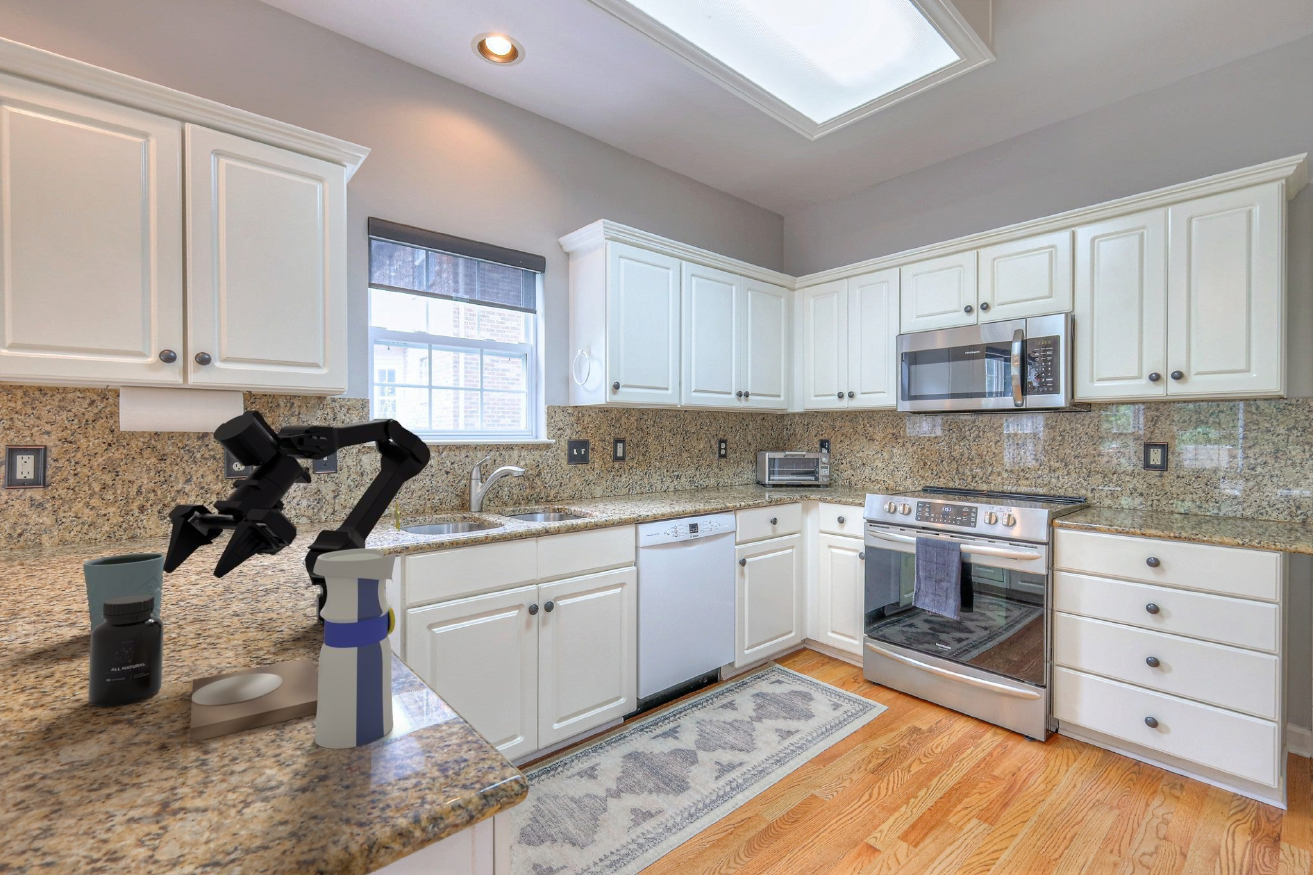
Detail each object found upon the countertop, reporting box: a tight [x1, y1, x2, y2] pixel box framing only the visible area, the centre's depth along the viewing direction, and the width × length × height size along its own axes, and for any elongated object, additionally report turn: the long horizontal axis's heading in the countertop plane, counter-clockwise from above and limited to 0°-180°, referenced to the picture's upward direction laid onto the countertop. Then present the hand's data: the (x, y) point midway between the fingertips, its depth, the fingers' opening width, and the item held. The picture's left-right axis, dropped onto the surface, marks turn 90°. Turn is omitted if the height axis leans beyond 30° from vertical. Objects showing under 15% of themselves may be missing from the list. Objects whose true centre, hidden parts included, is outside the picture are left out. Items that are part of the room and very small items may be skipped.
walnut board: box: [189, 657, 318, 744], centre depth 73 cm, size 13×16×2 cm
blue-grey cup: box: [82, 552, 166, 633], centre depth 99 cm, size 10×10×12 cm
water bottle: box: [313, 501, 401, 750], centre depth 66 cm, size 8×9×25 cm
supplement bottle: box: [88, 595, 165, 708], centre depth 74 cm, size 7×7×12 cm
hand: (190, 574), depth 81 cm, fingers open, 9 cm apart
